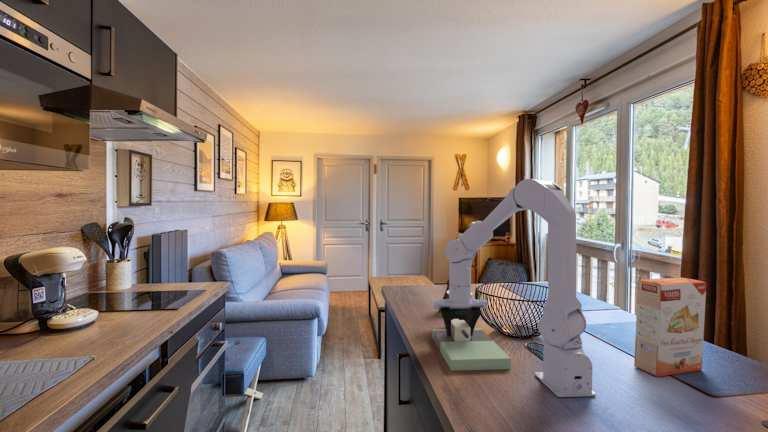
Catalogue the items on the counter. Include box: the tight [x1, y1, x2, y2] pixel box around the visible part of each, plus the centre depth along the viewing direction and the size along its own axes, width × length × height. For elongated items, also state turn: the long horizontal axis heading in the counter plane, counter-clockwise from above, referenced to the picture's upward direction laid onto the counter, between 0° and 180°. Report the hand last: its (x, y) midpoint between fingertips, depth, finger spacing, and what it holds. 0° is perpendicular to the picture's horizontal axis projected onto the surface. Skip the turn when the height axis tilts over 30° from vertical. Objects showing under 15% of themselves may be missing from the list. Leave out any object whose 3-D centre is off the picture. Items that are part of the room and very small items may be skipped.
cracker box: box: [633, 277, 708, 378], centre depth 81 cm, size 14×6×21 cm, turn 105°
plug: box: [450, 319, 471, 342], centre depth 92 cm, size 10×4×6 cm, turn 4°
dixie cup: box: [446, 290, 473, 324], centre depth 108 cm, size 8×8×11 cm
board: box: [432, 327, 512, 372], centre depth 90 cm, size 20×14×2 cm
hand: (459, 334), depth 94 cm, fingers open, 5 cm apart
